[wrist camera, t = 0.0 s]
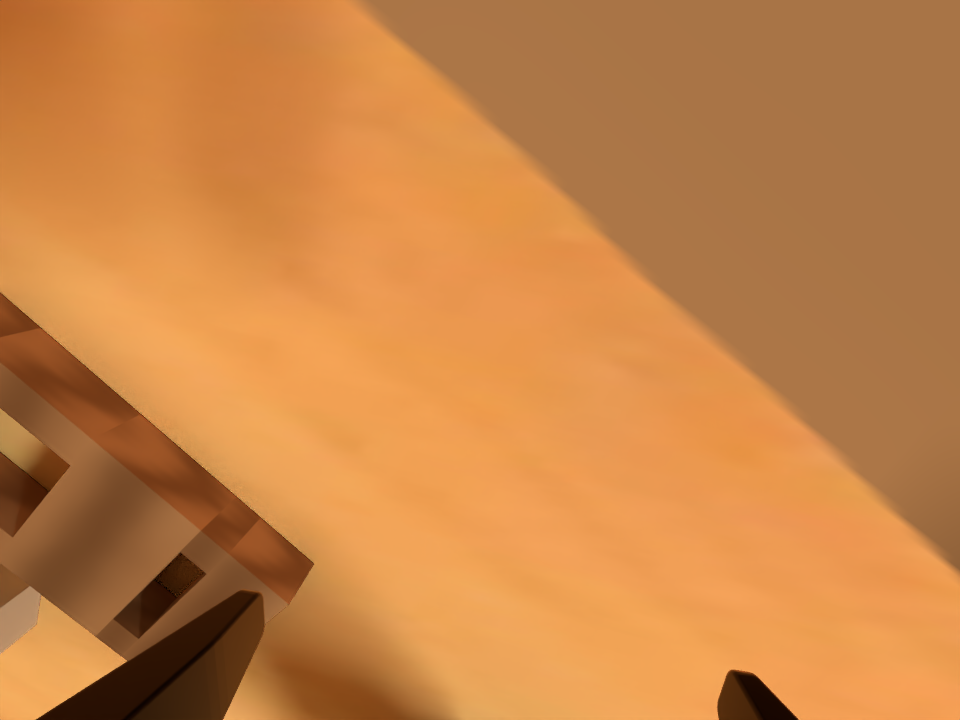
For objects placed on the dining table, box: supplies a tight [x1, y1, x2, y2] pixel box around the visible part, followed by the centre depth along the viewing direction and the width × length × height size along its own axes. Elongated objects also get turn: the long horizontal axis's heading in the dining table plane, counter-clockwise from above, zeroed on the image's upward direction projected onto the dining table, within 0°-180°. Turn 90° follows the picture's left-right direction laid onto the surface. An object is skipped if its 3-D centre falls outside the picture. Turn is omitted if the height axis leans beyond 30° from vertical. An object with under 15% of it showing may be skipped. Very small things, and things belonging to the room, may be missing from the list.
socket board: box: [0, 294, 314, 661], centre depth 26 cm, size 22×11×3 cm, turn 45°
